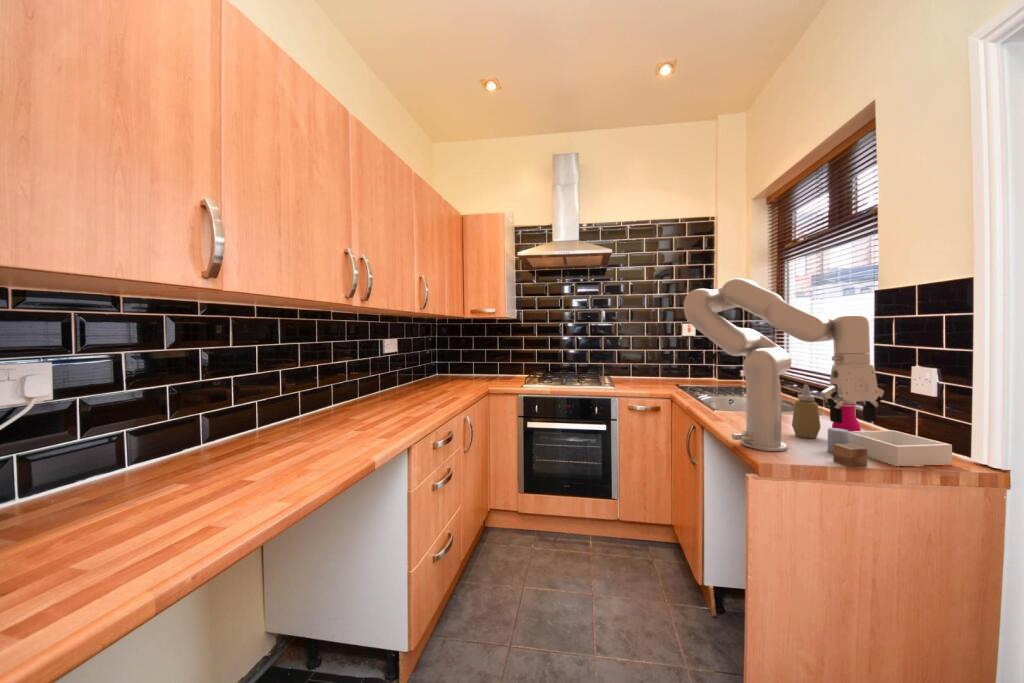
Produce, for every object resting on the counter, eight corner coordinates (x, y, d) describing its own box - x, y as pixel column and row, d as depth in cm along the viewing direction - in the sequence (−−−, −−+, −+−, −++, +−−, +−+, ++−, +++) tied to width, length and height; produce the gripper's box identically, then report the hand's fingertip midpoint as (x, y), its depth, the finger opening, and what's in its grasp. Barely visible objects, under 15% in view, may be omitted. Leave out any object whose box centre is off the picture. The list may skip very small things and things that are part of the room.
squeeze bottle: (826, 438, 133) (826, 386, 133) (809, 440, 131) (809, 387, 130) (802, 432, 141) (803, 383, 140) (786, 434, 139) (786, 384, 138)
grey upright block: (837, 456, 115) (837, 432, 115) (823, 450, 120) (823, 428, 120) (853, 455, 115) (853, 432, 115) (838, 450, 120) (838, 427, 120)
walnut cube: (849, 467, 106) (849, 449, 106) (833, 461, 111) (833, 444, 111) (867, 466, 106) (867, 448, 106) (850, 460, 111) (850, 443, 111)
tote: (897, 467, 105) (897, 446, 105) (845, 449, 121) (845, 431, 121) (951, 465, 106) (952, 444, 106) (892, 447, 122) (892, 430, 121)
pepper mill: (826, 439, 132) (827, 380, 131) (841, 437, 134) (841, 379, 133) (850, 445, 125) (851, 383, 124) (866, 443, 127) (866, 382, 126)
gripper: (833, 361, 103) (835, 425, 103) (895, 359, 104) (896, 423, 104) (810, 359, 111) (811, 419, 111) (868, 357, 112) (869, 417, 112)
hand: (852, 421), depth 108 cm, fingers open, 9 cm apart
